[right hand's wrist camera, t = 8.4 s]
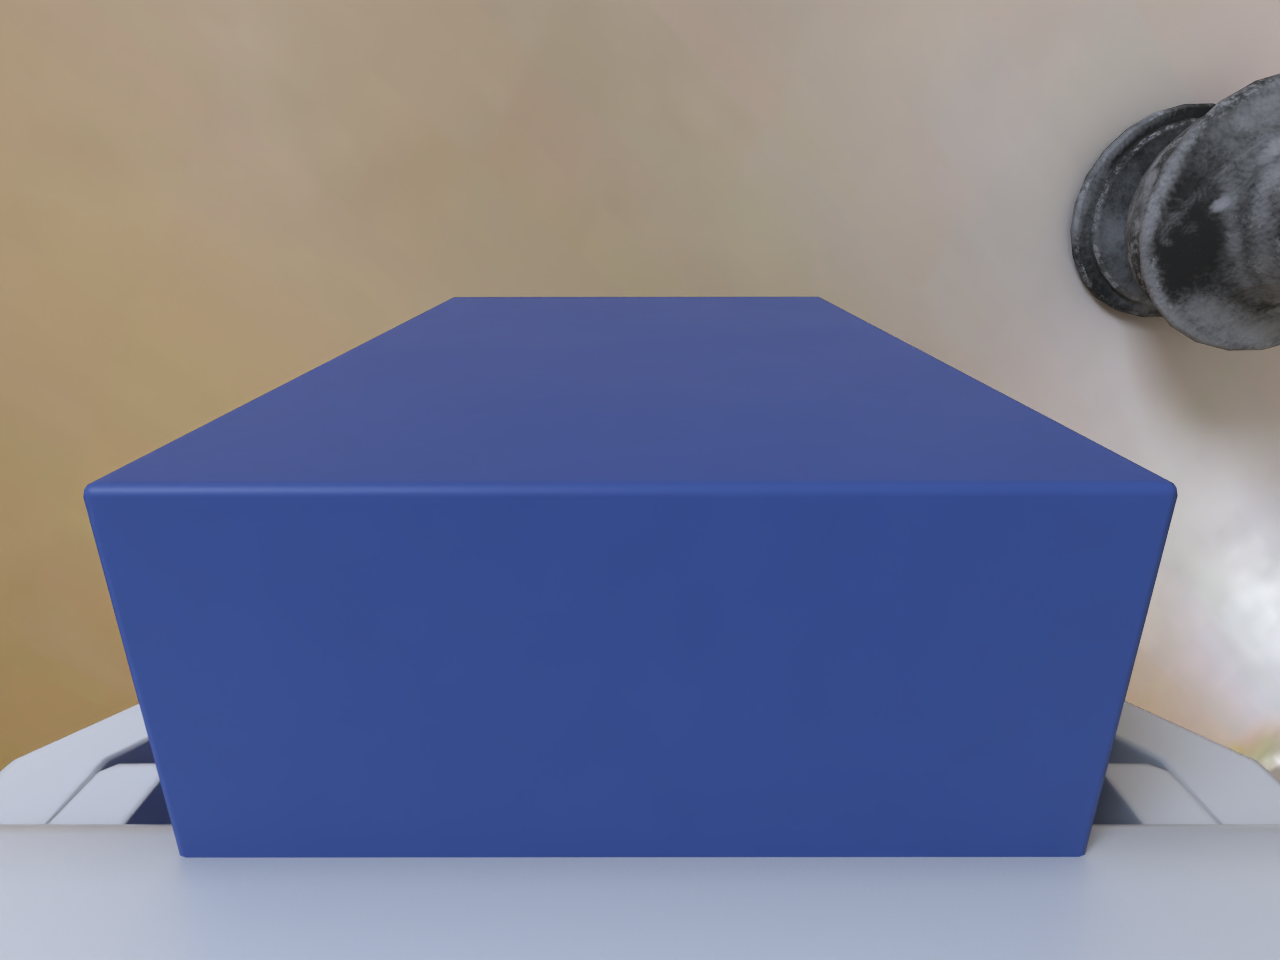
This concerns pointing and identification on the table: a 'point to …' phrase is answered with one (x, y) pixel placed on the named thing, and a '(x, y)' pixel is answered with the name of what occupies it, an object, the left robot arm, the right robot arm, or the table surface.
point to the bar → (631, 595)
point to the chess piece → (1190, 220)
